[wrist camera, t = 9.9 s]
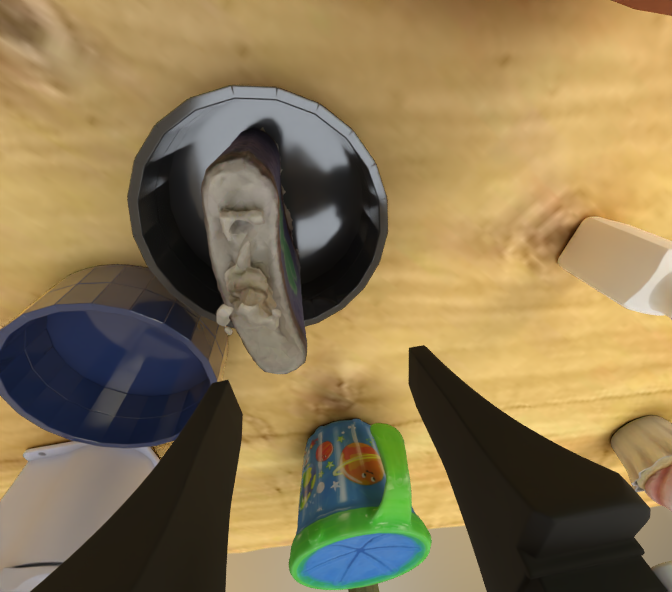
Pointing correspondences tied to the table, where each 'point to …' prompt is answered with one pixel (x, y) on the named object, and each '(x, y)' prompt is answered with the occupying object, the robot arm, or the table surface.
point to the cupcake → (647, 456)
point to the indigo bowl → (110, 359)
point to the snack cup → (356, 509)
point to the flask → (255, 252)
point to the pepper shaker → (622, 264)
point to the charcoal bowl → (300, 198)
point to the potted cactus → (649, 5)
